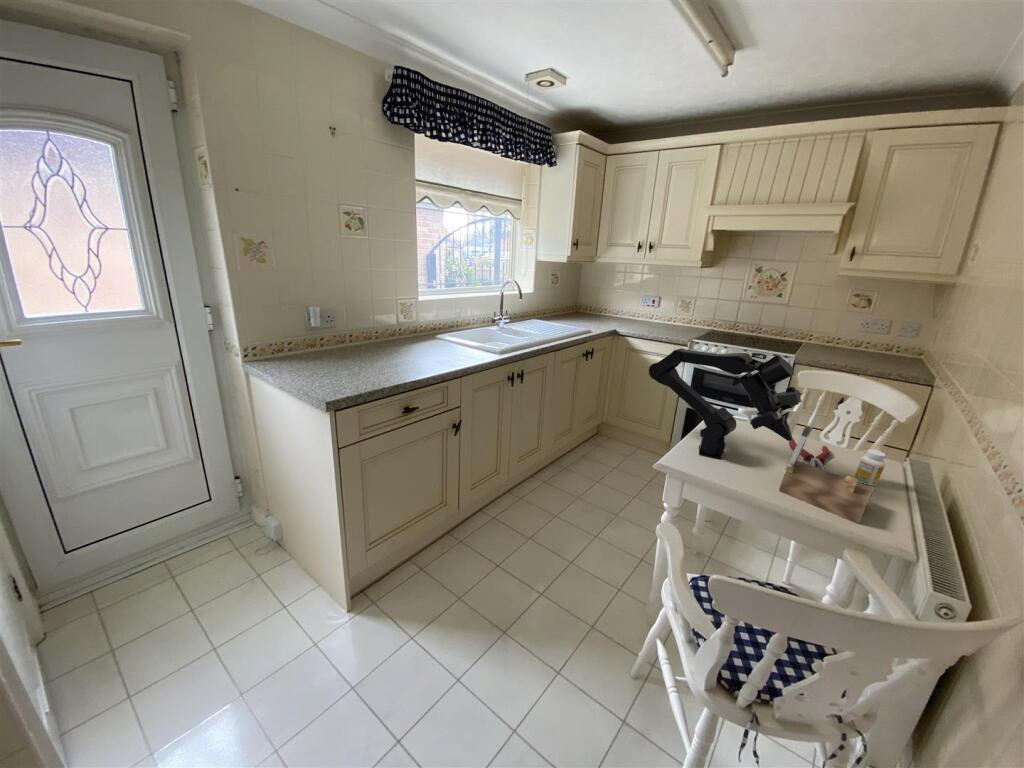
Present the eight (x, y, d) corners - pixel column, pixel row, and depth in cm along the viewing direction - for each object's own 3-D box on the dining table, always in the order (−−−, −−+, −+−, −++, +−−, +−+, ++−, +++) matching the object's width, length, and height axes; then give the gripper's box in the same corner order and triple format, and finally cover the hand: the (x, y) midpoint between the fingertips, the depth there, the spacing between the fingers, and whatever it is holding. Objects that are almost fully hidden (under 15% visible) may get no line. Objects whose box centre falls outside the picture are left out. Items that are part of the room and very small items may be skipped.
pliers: (796, 469, 129) (798, 462, 128) (787, 443, 147) (789, 436, 146) (840, 480, 125) (843, 473, 124) (826, 452, 142) (828, 445, 141)
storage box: (777, 490, 117) (785, 465, 114) (790, 475, 125) (797, 452, 122) (858, 524, 104) (869, 496, 102) (867, 505, 112) (877, 479, 110)
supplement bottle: (872, 478, 126) (883, 450, 123) (880, 488, 121) (892, 458, 118) (851, 474, 128) (861, 446, 124) (858, 483, 123) (869, 454, 119)
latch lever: (790, 469, 117) (786, 467, 118) (795, 465, 120) (790, 463, 120) (808, 431, 112) (803, 429, 113) (812, 427, 115) (807, 425, 115)
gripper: (774, 385, 109) (811, 438, 106) (795, 373, 121) (829, 420, 118) (736, 403, 117) (769, 453, 114) (759, 390, 129) (789, 435, 126)
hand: (790, 440), depth 117 cm, fingers closed
